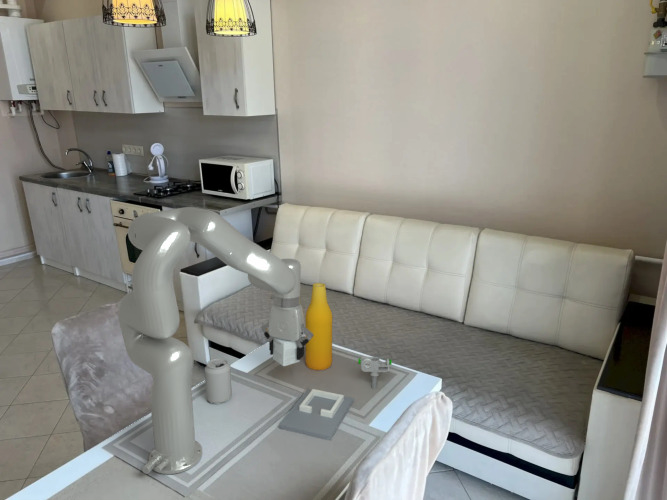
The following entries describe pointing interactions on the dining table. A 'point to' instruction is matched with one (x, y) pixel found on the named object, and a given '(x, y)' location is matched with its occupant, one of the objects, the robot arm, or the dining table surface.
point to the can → (218, 380)
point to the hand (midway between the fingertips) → (286, 355)
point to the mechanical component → (374, 367)
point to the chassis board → (317, 414)
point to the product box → (285, 351)
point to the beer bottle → (319, 330)
